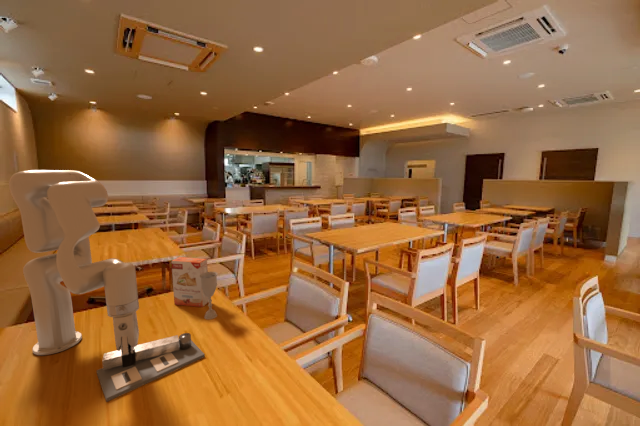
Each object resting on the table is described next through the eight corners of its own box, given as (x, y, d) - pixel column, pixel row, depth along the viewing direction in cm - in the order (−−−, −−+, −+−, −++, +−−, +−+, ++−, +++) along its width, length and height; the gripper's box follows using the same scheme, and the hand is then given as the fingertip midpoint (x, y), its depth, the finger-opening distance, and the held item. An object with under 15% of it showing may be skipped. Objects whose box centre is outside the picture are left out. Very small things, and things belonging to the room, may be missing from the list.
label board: (96, 373, 85) (96, 369, 85) (186, 337, 103) (186, 334, 103) (106, 401, 75) (105, 397, 74) (204, 356, 93) (204, 352, 93)
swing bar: (105, 364, 87) (104, 353, 87) (190, 341, 99) (190, 331, 98) (103, 372, 84) (102, 360, 83) (192, 348, 95) (191, 337, 95)
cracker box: (173, 305, 128) (170, 260, 125) (182, 299, 134) (179, 256, 131) (202, 308, 126) (199, 262, 123) (209, 301, 132) (207, 258, 129)
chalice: (213, 321, 115) (211, 278, 112) (198, 319, 116) (195, 277, 113) (222, 312, 122) (221, 272, 119) (208, 311, 123) (206, 271, 120)
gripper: (137, 314, 78) (143, 375, 80) (139, 294, 91) (145, 347, 93) (102, 321, 74) (110, 385, 77) (110, 299, 87) (117, 354, 90)
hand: (129, 364), depth 85 cm, fingers closed
